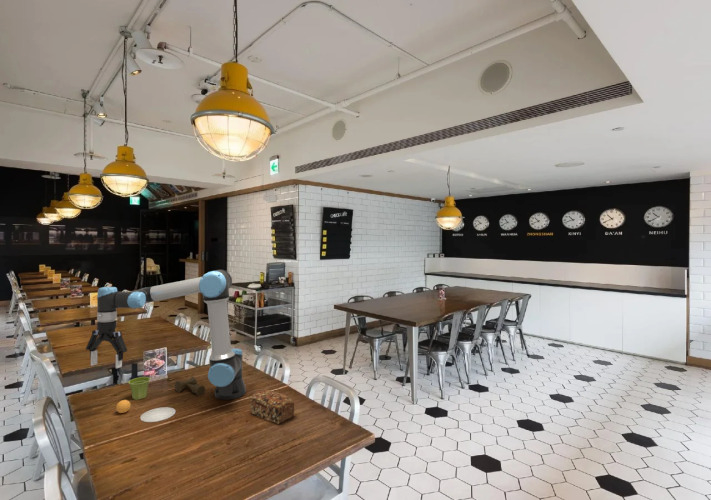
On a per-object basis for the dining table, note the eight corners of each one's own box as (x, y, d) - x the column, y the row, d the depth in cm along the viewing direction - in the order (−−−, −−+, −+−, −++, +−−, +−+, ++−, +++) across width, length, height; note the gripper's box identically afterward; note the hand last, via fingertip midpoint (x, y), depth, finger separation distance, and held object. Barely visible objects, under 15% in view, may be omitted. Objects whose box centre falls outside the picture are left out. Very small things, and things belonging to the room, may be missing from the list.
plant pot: (143, 401, 178) (143, 384, 178) (124, 401, 179) (124, 383, 178) (154, 393, 188) (154, 377, 188) (136, 393, 188) (136, 376, 188)
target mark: (181, 408, 171) (181, 408, 171) (163, 423, 157) (163, 422, 157) (153, 406, 173) (153, 406, 173) (132, 421, 159) (132, 420, 159)
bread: (249, 414, 166) (249, 392, 166) (266, 405, 175) (267, 385, 175) (278, 426, 156) (278, 402, 156) (295, 416, 165) (295, 394, 165)
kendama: (192, 399, 182) (170, 389, 194) (209, 393, 190) (187, 384, 202) (192, 387, 182) (170, 378, 194) (209, 382, 190) (187, 373, 202)
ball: (133, 410, 169) (133, 398, 169) (124, 415, 164) (124, 403, 164) (122, 409, 170) (122, 397, 170) (113, 414, 164) (113, 402, 164)
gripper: (77, 320, 168) (76, 366, 168) (123, 324, 163) (122, 371, 163) (91, 317, 175) (91, 361, 176) (136, 320, 170) (135, 365, 171)
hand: (106, 366), depth 170 cm, fingers open, 13 cm apart
